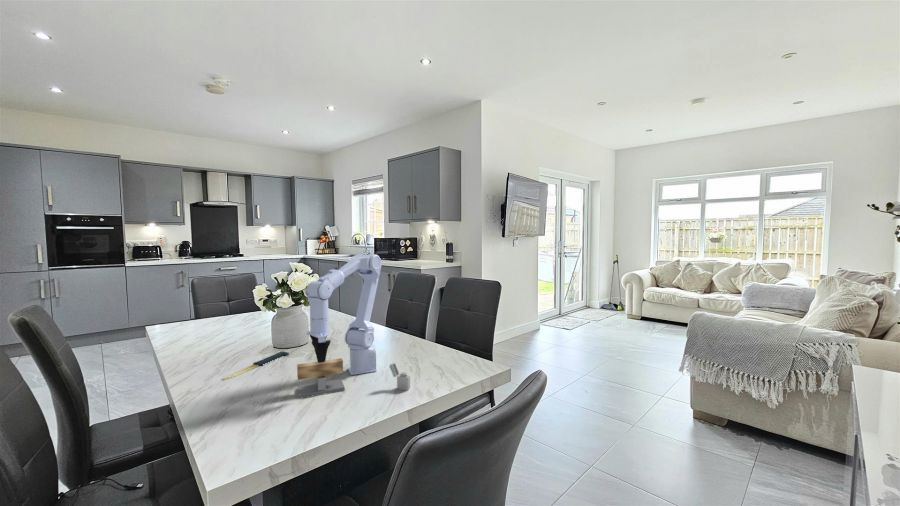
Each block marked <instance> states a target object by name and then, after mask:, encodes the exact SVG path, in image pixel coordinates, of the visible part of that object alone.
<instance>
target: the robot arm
mask: <svg viewBox="0 0 900 506" xmlns="http://www.w3.org/2000/svg"><path fill="white" fill-rule="evenodd" d="M382 265H383V262H382V259H381V258H380V256H379V255H378V254H360V253H357V254H355V255H353V256H352V257H351V258H350V260H349V261H348V262H346V263H345V264H344V265H343V266H342V267H340V268H339V269H330V270H328V273H326V274H325V275H324V276H323V275H322V276H320V277H319V278H318V279H317V280H316V281H315V280H313V281H310V282H309V283H308V285H307V286H306V288H305V290H304V294H305V296H306V298H307V299H308V304H309V327H310V328H309V331H306V335H307V336H309V337H310V339H311V345H312V347H313V348H314V353H315V355H316V360H317V361H316V362H318V363H321V362H325V361H326V360H327V352H328V350H329V349H328V348H329V346H330V344H331V339H327V337H328V335H329V333H330V327H329V326H330V325H329V319H330V318H329V298H331V296H332V293H333V291H334V290H335V289H337V288H339V286H341V285H342V284H343V283H344V282H345V278H347V277H348V276H350V275H352V274H353V273H354V272H357V273H358V275H359V276H360V277H362V279H363V284H362V288H361V292H360V297H359V301H358V305H357V310H356V315H355V320H353V321H352V322H350V323H349V325H348V329H347V330H346V332H345V334H344V342H345V343H346V344H347V347H348V349H349V366H348V367H347V370H348V371H349V374H350V376H355V375H362V374H368V373H373V372H377V371H378V370H377V350H376V347H375V345H373V344H374V341H375V327H374V326H373V325H372V323H370V322H371V318H372V312H373V308H374V303H375V298H376V294H377V290H378V289H377V288H378V283H379V278H380V275H381V269H382ZM326 339H327V340H326Z"/></svg>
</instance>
